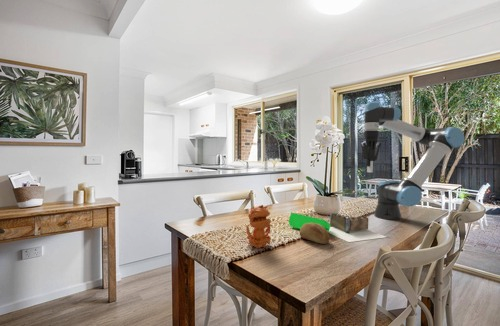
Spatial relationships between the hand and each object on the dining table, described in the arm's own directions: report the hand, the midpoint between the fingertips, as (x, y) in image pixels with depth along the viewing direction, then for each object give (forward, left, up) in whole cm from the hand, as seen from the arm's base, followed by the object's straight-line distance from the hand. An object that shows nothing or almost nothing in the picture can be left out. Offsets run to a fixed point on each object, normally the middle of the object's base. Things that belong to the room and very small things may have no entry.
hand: (369, 172), depth 145 cm
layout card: (+22, +10, -29) cm, 38 cm away
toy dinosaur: (+73, +14, -30) cm, 80 cm away
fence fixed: (+24, +4, -29) cm, 38 cm away
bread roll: (+47, +15, -30) cm, 58 cm away
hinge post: (+24, +11, -29) cm, 40 cm away
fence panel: (+17, +10, -29) cm, 35 cm away
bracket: (+39, 0, -30) cm, 49 cm away
